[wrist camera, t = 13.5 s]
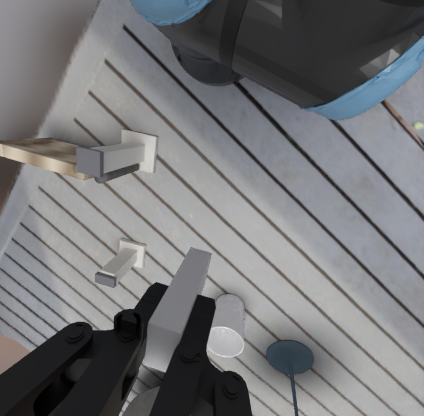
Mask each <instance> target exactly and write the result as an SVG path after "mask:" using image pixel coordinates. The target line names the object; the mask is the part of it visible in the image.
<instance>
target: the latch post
mask: <svg viewBox="0 0 424 416" xmlns="http://www.w3.org/2000/svg"><path fill="white" fill-rule="evenodd" d="M145 252H146V245H145V244H142V243H138V242H134V241H131V240H127V239H124V238H122V239H120V246H119V254H118V255H116V256H115V257H114V258H113V259H112V260H111V261H110V262H109V263H108V264H107V265H105V266H104V267H103V268H102V269H101V270H100V272H97V273H96V274H95V282H96V283H99V284H103V285H106V286H109V287H112V288H114V287H115V286H116V284H117V283H118V282H119V281H120V279H121V278H122V277H123V276H124V275H125V274H126V273H127V272H128V271H129V270H130V268H131V267H132V266H135V267H139V268H143V267H144V263H145Z"/></svg>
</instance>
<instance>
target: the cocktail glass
mask: <svg viewBox="0 0 424 416" xmlns="http://www.w3.org/2000/svg"><path fill="white" fill-rule="evenodd" d="M267 360H268V362H269V363H270V365H271V366H272V367H274V368H275V369H276V370H278V371H280V372H283V373H287V374H290V379H291V386H292V394H293V402H294V409H295V416H298V408H297V400H296V392H295V383H294V374H300V373H303V372H306V371H307V370H309V369H310V368H311V366H312V365H313V361H314V359H313V355H312V353H311V351H310V350H309V349H308V348H307V347H306V346H305V345H303V344H301V343H299V342H296V341H291V340H283V341H278V342H276V343H274V344H272V345H271V346H270V347H269V348H268V350H267Z"/></svg>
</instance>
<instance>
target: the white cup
mask: <svg viewBox="0 0 424 416" xmlns="http://www.w3.org/2000/svg"><path fill="white" fill-rule="evenodd" d="M244 320H245V317H244V304H243V302H242V301H241V299H240V298H239V297H237V296H235V295H232V294H225V295H221V296H220V297H219V298H218V299H217V301H216V310H215V314H214V318H213V322H212V326H211V331H210V335H209V339H208V343H207V348H208V349H209V350H210V351H211V352H213V353H214V354H216V355H218V356H222V357H234V356H237V355H239V354H240V353H241V352H242V351H243V349H244V328H245V324H244Z"/></svg>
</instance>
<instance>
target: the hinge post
mask: <svg viewBox="0 0 424 416" xmlns="http://www.w3.org/2000/svg"><path fill="white" fill-rule="evenodd" d="M157 147H158V137H157V136H152V135H148V134H143V133H139V132H134V131H130V130H125V129H122V138H121V144H115V145H107V146H99V147H92V148H86V147H82V146H77V147H76V158H77V172H78V173H82V174H86V175H90V176H94V177H98V178H101V177H104V173H107V172H111V171H114V170H117V169H120V168H124V167H127V166H130V165H133V164H137V163H138V164H139V169H138V170H141V171H145V172H149V173H155V168H156V157H157Z"/></svg>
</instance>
